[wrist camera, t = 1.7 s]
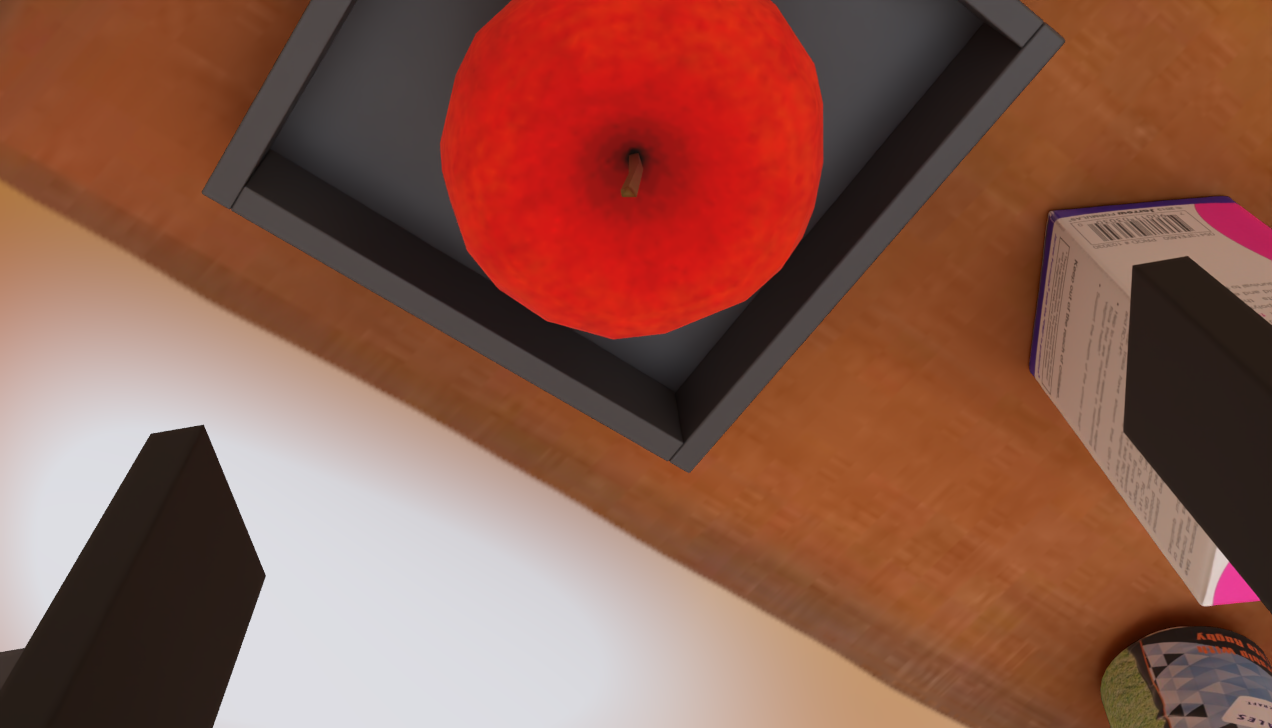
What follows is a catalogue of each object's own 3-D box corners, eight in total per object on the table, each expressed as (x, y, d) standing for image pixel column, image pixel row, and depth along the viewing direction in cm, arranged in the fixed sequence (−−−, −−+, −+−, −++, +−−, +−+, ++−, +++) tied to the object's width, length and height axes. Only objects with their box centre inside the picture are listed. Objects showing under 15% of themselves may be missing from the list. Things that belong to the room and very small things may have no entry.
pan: (235, 148, 32) (200, 193, 29) (543, -389, 26) (541, -405, 23) (678, 411, 37) (689, 474, 34) (1017, 10, 31) (1068, 41, 28)
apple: (588, -165, 28) (597, -132, 21) (851, 48, 31) (933, 138, 24) (398, 122, 31) (352, 231, 24) (651, 290, 34) (674, 430, 27)
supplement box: (1024, 377, 37) (1195, 614, 27) (1045, 207, 34) (1243, 403, 24) (1200, 362, 37) (1433, 593, 27) (1235, 191, 34) (1511, 380, 24)
